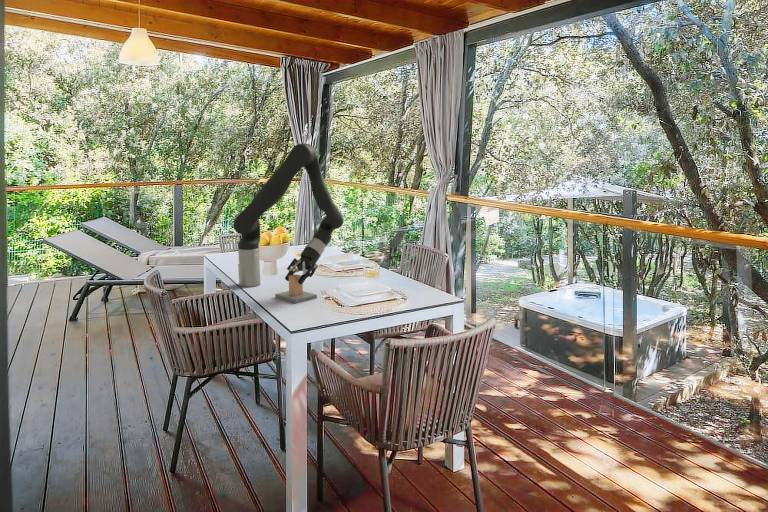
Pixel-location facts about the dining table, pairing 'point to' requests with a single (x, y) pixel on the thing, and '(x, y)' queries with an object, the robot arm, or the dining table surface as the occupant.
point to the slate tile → (296, 297)
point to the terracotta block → (295, 285)
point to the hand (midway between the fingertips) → (292, 281)
